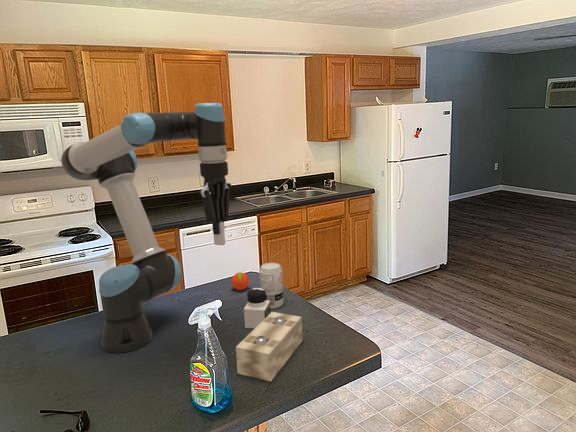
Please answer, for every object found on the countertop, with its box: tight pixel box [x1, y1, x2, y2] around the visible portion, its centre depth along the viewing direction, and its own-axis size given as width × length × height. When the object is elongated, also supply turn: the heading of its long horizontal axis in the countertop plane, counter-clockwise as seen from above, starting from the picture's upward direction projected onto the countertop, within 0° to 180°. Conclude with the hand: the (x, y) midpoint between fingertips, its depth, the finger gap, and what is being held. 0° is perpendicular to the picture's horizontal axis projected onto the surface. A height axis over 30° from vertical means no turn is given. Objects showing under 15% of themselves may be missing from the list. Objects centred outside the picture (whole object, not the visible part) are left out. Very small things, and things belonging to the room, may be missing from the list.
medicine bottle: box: [243, 287, 271, 330], centre depth 142 cm, size 7×7×12 cm
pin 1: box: [255, 336, 267, 346], centre depth 117 cm, size 3×3×8 cm
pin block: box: [235, 311, 303, 382], centre depth 123 cm, size 10×22×8 cm, turn 156°
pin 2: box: [275, 317, 285, 325], centre depth 128 cm, size 3×3×8 cm
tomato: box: [231, 272, 250, 291], centre depth 171 cm, size 8×7×7 cm
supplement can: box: [258, 262, 285, 310], centre depth 156 cm, size 8×8×15 cm
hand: (219, 244), depth 122 cm, fingers closed
